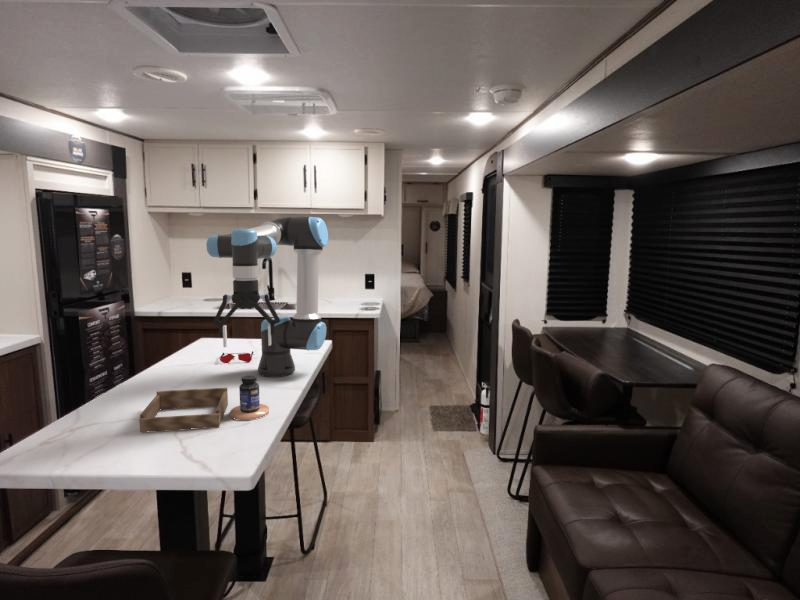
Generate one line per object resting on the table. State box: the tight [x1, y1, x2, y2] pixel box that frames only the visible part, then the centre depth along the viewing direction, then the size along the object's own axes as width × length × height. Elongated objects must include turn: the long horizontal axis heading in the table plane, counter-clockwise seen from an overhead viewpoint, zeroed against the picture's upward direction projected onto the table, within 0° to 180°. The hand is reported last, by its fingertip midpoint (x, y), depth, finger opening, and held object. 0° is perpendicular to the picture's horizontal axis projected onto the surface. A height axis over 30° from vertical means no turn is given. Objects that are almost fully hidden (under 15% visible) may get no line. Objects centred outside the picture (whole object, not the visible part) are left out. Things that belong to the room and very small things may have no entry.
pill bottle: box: [238, 374, 261, 413], centre depth 157 cm, size 6×6×11 cm
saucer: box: [229, 403, 270, 421], centre depth 158 cm, size 12×12×1 cm
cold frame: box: [138, 387, 229, 433], centre depth 154 cm, size 22×20×6 cm
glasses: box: [219, 351, 254, 364], centre depth 225 cm, size 14×16×5 cm
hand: (247, 345), depth 155 cm, fingers open, 13 cm apart
